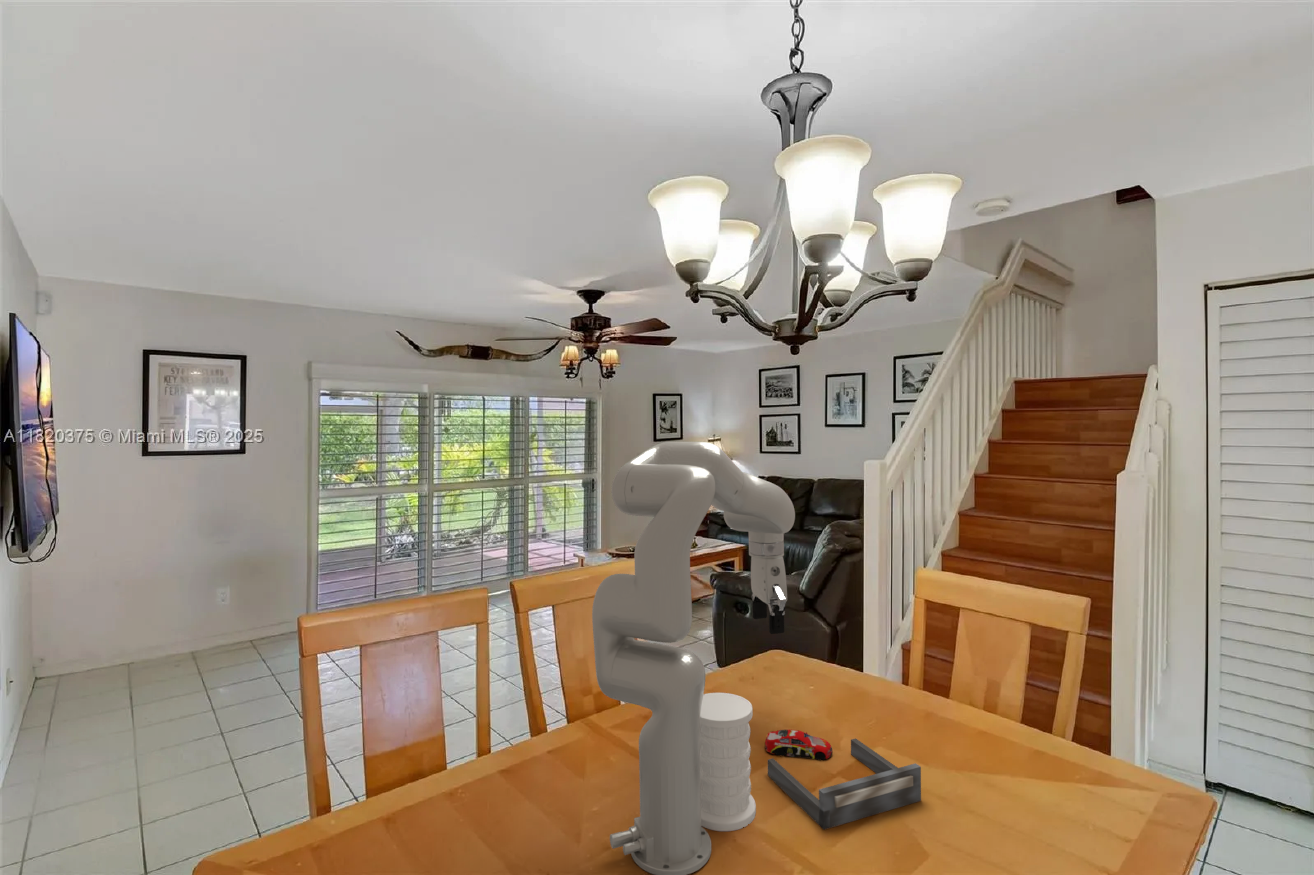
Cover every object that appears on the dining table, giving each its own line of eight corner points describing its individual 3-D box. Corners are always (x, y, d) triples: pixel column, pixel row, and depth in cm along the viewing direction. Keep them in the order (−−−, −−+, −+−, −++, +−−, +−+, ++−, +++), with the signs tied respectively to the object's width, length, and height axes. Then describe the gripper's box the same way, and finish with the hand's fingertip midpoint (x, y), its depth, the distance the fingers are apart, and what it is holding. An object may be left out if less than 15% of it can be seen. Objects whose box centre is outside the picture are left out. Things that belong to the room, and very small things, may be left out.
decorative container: (677, 798, 111) (676, 698, 110) (735, 784, 115) (734, 687, 114) (705, 838, 100) (704, 727, 99) (768, 821, 104) (767, 714, 104)
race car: (832, 750, 127) (832, 730, 127) (832, 764, 122) (832, 743, 122) (766, 742, 130) (766, 723, 130) (764, 755, 125) (764, 736, 125)
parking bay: (825, 831, 101) (825, 795, 101) (767, 775, 118) (767, 743, 117) (923, 802, 108) (922, 768, 108) (855, 753, 125) (855, 723, 125)
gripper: (799, 555, 128) (800, 637, 129) (767, 539, 145) (769, 611, 146) (764, 558, 127) (766, 641, 127) (736, 541, 144) (738, 614, 144)
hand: (768, 625), depth 137 cm, fingers open, 9 cm apart
